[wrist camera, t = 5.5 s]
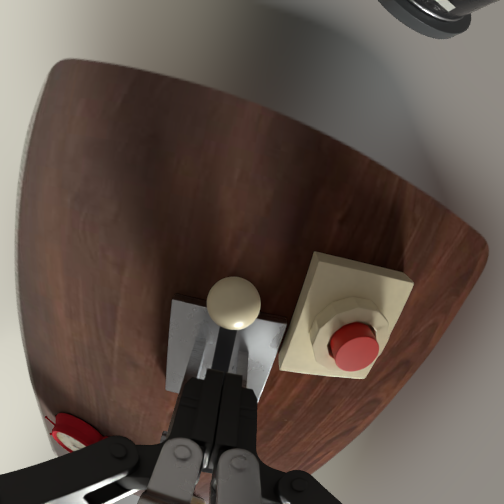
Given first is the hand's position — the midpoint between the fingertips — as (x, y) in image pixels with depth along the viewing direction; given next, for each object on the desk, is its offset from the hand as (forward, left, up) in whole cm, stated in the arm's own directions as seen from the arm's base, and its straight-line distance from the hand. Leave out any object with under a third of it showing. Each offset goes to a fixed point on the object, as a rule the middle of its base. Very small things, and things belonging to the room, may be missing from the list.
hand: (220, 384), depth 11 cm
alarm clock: (+38, -19, -13) cm, 44 cm away
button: (+3, +10, -9) cm, 14 cm away
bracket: (+10, 0, -13) cm, 16 cm away
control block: (+3, +10, -13) cm, 17 cm away
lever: (+6, 0, -6) cm, 8 cm away
